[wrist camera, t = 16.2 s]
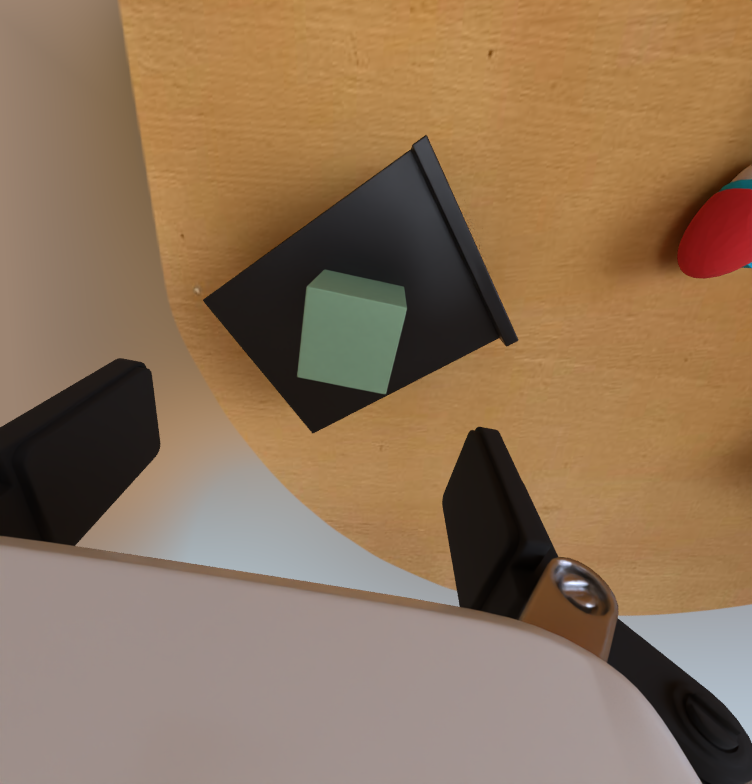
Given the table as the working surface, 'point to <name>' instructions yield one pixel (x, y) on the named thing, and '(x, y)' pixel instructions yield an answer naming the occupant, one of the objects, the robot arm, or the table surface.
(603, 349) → the table surface
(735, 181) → the toy figure
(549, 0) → the table surface
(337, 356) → the cube
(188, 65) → the table surface
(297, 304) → the plate
